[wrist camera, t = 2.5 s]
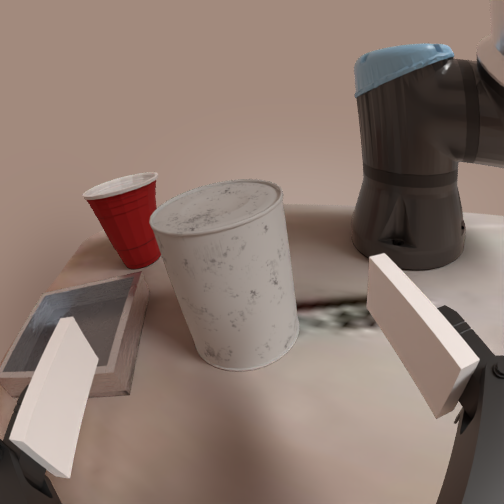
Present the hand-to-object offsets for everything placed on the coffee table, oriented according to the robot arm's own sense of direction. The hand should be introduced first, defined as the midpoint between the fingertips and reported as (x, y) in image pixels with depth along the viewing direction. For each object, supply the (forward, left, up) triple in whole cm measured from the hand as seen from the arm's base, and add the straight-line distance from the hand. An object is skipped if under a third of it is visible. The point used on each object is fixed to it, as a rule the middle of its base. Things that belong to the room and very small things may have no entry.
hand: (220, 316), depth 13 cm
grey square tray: (+18, -13, -11) cm, 25 cm away
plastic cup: (+13, -30, -11) cm, 34 cm away
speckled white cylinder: (0, -11, -11) cm, 16 cm away
